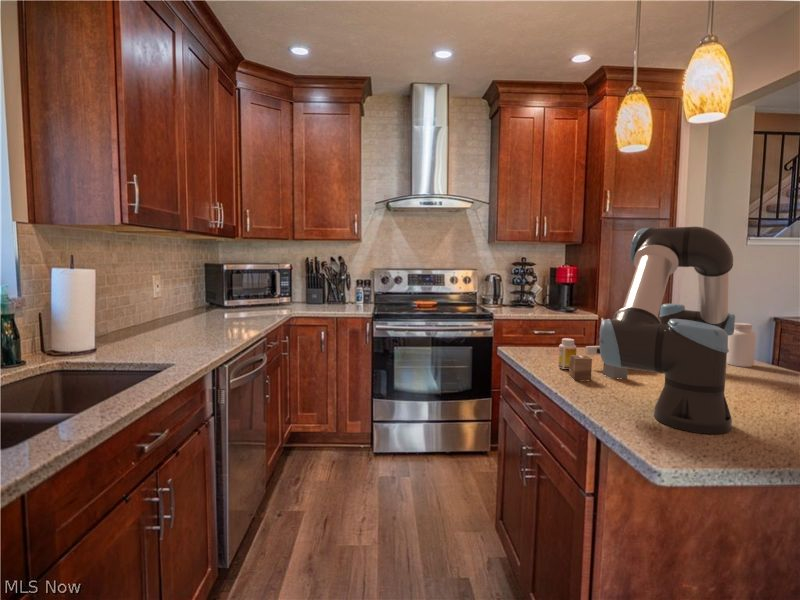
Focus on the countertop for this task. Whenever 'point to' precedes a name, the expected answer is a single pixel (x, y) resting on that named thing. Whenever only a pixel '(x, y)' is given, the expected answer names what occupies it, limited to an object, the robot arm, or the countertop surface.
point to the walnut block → (580, 367)
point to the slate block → (614, 371)
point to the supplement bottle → (566, 352)
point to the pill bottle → (741, 346)
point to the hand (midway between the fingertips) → (586, 350)
